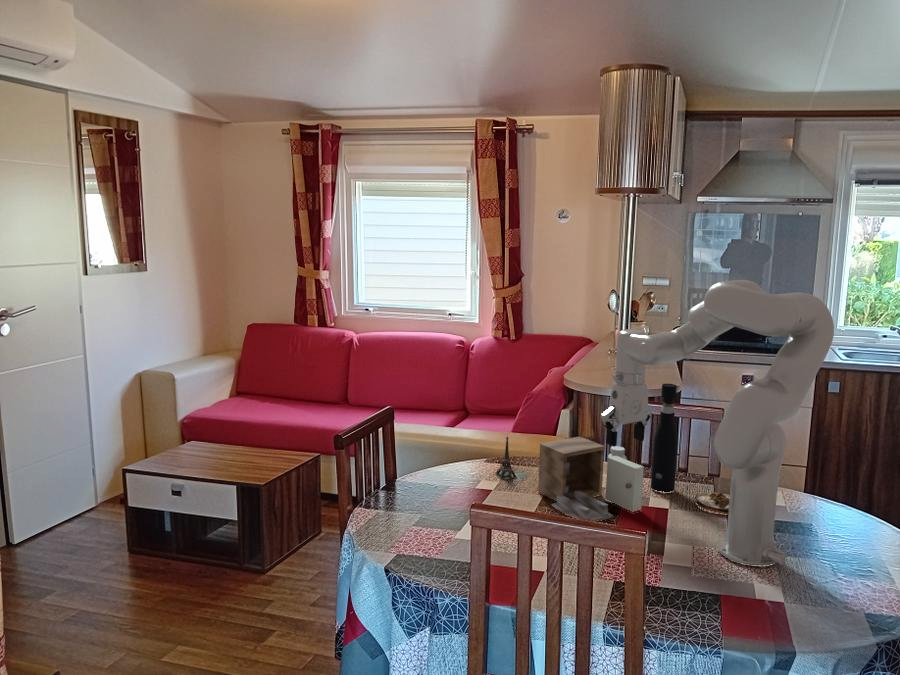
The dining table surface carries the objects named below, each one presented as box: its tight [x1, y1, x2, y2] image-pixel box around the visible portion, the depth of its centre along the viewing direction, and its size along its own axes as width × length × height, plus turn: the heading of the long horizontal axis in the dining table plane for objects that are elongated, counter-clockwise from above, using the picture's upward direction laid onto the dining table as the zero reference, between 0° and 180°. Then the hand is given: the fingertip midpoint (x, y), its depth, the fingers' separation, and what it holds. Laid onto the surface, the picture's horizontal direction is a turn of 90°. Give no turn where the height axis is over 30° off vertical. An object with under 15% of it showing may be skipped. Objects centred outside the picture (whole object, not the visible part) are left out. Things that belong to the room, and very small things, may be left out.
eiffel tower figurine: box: [494, 433, 529, 488], centre depth 209 cm, size 15×10×13 cm
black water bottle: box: [650, 383, 679, 492], centre depth 199 cm, size 6×6×30 cm
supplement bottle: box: [607, 445, 628, 460], centre depth 207 cm, size 5×5×10 cm
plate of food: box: [694, 491, 730, 514], centre depth 189 cm, size 15×15×4 cm
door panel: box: [604, 456, 644, 512], centre depth 188 cm, size 10×4×12 cm, turn 31°
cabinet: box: [537, 436, 613, 521], centre depth 189 cm, size 23×18×14 cm
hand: (625, 442), depth 187 cm, fingers open, 9 cm apart
